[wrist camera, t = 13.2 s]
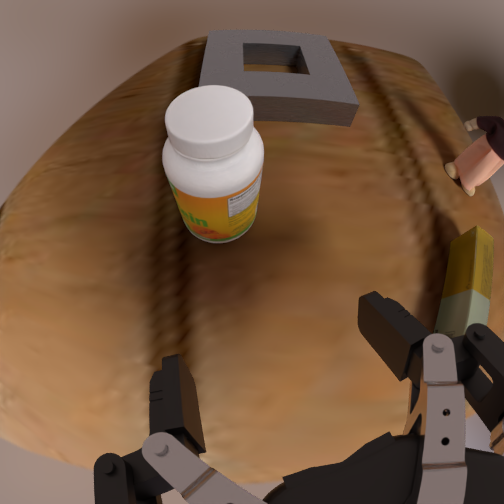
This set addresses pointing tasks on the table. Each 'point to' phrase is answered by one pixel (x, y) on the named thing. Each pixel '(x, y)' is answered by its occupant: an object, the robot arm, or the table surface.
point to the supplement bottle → (214, 161)
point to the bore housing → (282, 75)
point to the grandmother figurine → (479, 154)
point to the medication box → (466, 283)
